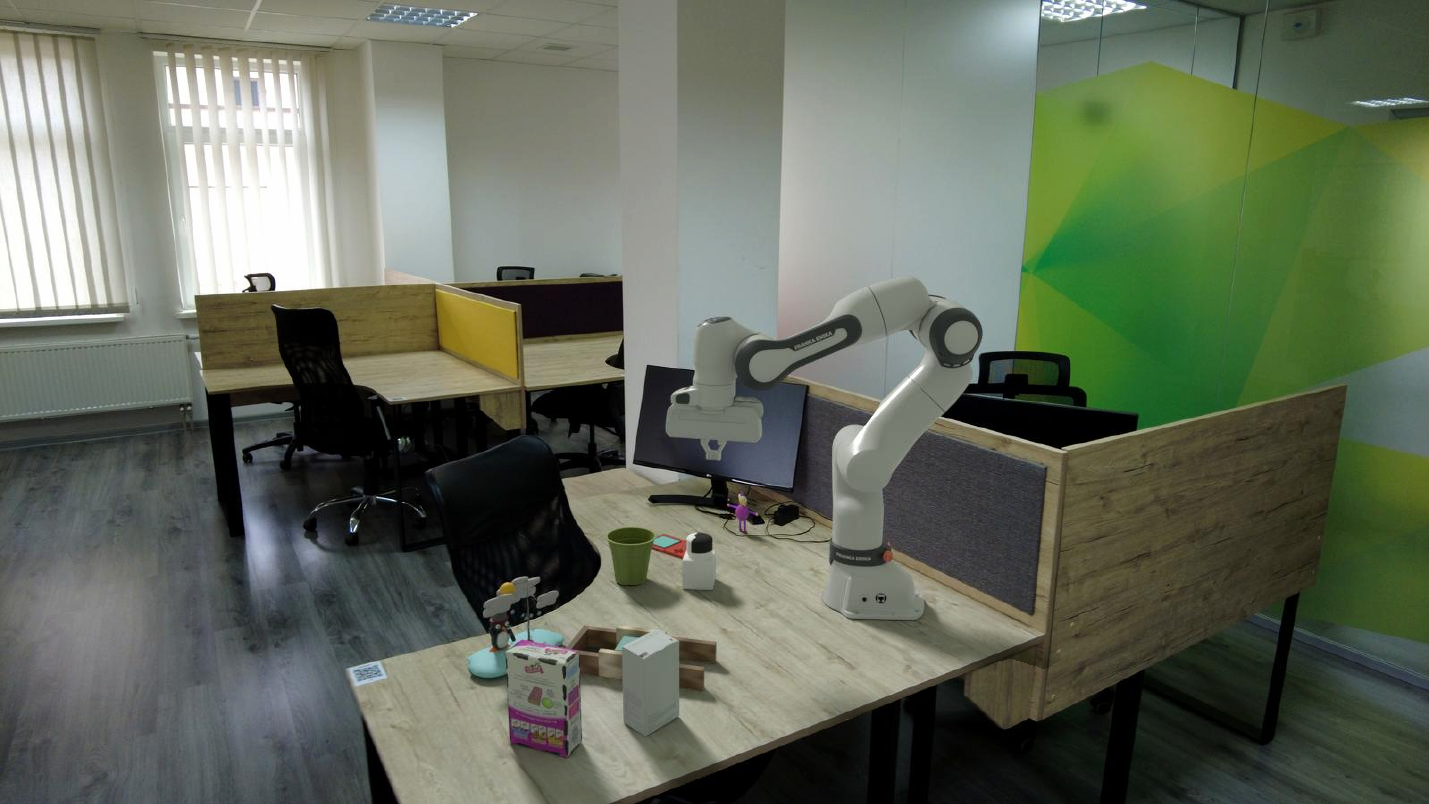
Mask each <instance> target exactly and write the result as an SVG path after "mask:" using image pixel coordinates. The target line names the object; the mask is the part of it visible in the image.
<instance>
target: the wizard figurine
mask: <svg viewBox="0 0 1429 804" xmlns="http://www.w3.org/2000/svg"><path fill="white" fill-rule="evenodd" d="M749 501H750V502H749ZM738 502H739V504H738V505H732V504H730V499H727V504H726V505H727V507H731V508H733V509H735V513H734V514H735V516H736V518H737V520H738V528H739V529H738V531H739V532H742V531H743V533H744V534H746V533H748V530H747V519H748V518H749V514H751V515H755V516H756V517H757V516H758V517H759V513H758V512H755V511H751V510H749V509H748V506H747V505H750V506H752V507H757V505H758V504H755V503H757V499H753V498H750V497H748V496H745V495H744V492H743V490H741V491H740V493H739V494H738ZM742 522H743V528H742Z"/></svg>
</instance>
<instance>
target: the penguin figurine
mask: <svg viewBox="0 0 1429 804" xmlns="http://www.w3.org/2000/svg"><path fill="white" fill-rule="evenodd" d="M540 582H541V577H540V576H536V577H531V578H529V577H528V576H520V577H517V578H515V579H513V580H512V581H511V582H504V583H503V584H501V586H500V587H499V589H498V590H497V591H496V597H493V598H491V599H488V600H487V601H485V602H484V603H483V609H484V610H483V612H482V615H483V618H486V619H487V618H489V622H490V627H489V628H488V632H487V633H488V635H490V637H491V638H490V639H491V640H490V641H491V645H492V646H489V647H486V648H483V649H481V650H480V649H479V650H478V651H476V652H475V653H473V654H471V655H470V656H468V657H467V658H466V661H467V663H468V664H469V666H468V670H469V671H470V673H472V674H473V675H474V676H477V677H479V678H484V679H495V678H499V677H502V676H505V675H507V672H506V653H505V652H506V651H507V650H509V649H510V648H512V647H513V646H514V645H515V644H516V643H518V642H519V641H520V640H527V641H532V642H537V643H542V644H547V645H552V646H557V647H560V646H561V645H562V644H563V643H564V641H565V637H564V636H563V635H562V634H560V633H557V632H553V631H552V630H551V631H550V630H548V629H547V630H546V629H543V628H536V627H533V628H531V629H530V618H531V619H532V618H533V616H534V613H531V612H530V611H529V610H530V606H532V604H530V606H529V602H530V601H529V600H528V598H529V597H530V596H533V595H534V594H535V593H536V590H537V588H536V585H537V584H539V583H540ZM559 595H560V594H559V591H558V590H552V591H549V592H547V593H543V594H541V595H538V597H536V598H533V600H534V599H535V600H536V602H537V603H536V609H542V608H544V607H546V606H551V605H554V604H555V603H556V602H557V598H558V597H559ZM525 598H526V605H527V607H526V606H525V605H522V606H523V607H524V608H525V609H523V611H525V612H526V611H527V612H526V613H525V612H523V613H522V614H521V617H524V620H527V624H526V623H525V622H524V623H523V624H525V625H526V626H525V627H524V628H525V630H524V631H522V632H519V633H517V634H515V633H514V632H513V630H512V625H510V622H509V618H510V617H509V615H507V612H508V611H509V610H510V609H511V607H512V606H511V605H512V604H515V603H517V602H519V601H520V600H521V599H523V600H525ZM514 613H515V610H511V612H510V615H512V614H514ZM541 614H542V611H540V610H538V611H537V613H536V615H537V616H541ZM547 624H548V622H547V621H546V622H544V623H543V626H544V627H547ZM520 627H521V626H518V625H517V627H516V630H519V629H520ZM535 628H536V629H535Z"/></svg>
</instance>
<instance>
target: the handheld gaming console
mask: <svg viewBox="0 0 1429 804" xmlns="http://www.w3.org/2000/svg"><path fill="white" fill-rule="evenodd" d="M651 550H654V551H656V552H659V553H663V554H665V555H668V556H670V557H675V558H678V559H680V560H683V558H684V555H685V552H686V550H687V539H686V540H685V539H683V538H680V537H676V536H673V535H670V534H666V533H662V534H660V535H658V536H657V535H656V539H655V540H654V542H653V547H652V549H651Z"/></svg>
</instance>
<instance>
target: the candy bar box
mask: <svg viewBox="0 0 1429 804" xmlns="http://www.w3.org/2000/svg"><path fill="white" fill-rule="evenodd" d="M505 653H506V672H507V674H506V690H507V691H506V692H507V707H508V711H507V712H508V713H507V714H508V731H509V733H508V734H509V743H510V744H513V745H516V746H521V747H525V748H529V749H533V750H536V751H540V752H544V753H549V754H551V755H557V756H561V757H564V758H568V757H570V756H571V755H572V754H573V753H574V751H575V750H576V749H577V748H578V747H579V746H580V745H581V744H582V742H583V726H582V724H583V723H582V700H581V699H582V695H581V691H582V690H581V674H580V657H579V651H577V650H572V649H567V648H566V647H560V646H558V647H557V646H552V645H547V644H542V643H537V642H532V641H527V640H520V641H519V642H518V643H516V644H515V645H514V646H513V647H512V648H510V649H509V650H507V651H506V652H505Z"/></svg>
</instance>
